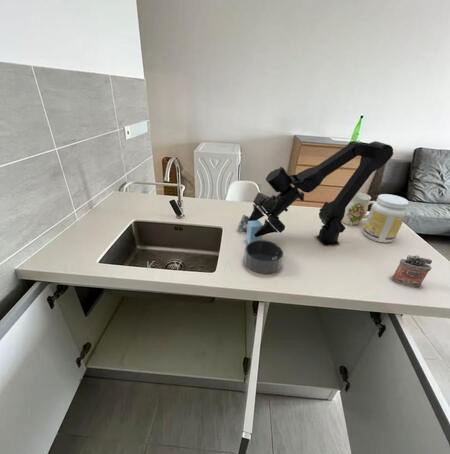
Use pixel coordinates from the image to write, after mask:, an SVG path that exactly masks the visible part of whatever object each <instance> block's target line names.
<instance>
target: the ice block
mask: <svg viewBox="0 0 450 454" xmlns="http://www.w3.org/2000/svg"><path fill="white" fill-rule="evenodd" d="M263 225H264V224H263V223H262V222H261V221H260V219H259V220H257V221H248V225H247V231H246V236H245V241H246V242H247V244H249V243H250V242H253V241H258V240H262V236H263V235H262V236H258V237H255V236H254V235H255V233H256V232H257V231H258V230H259V229H260V228H261V227H262V226H263Z"/></svg>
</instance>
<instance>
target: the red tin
mask: <svg viewBox="0 0 450 454" xmlns="http://www.w3.org/2000/svg"><path fill="white" fill-rule="evenodd" d="M432 263H433V260H432V259H431V258H427V257H420V256H419V255H417V254H415V255H410V254H408V255H407V256H406V259H405V258H401V259H400V260H399V263H398V266H397V267H396V270H395V271H394V273H393V275H392V276H391V278H390V280H391V281H392V282H394V283H397V284H399V285H402V286H406V287H410V288H416V289H417V288H418V289H420V288H421V286H422V283H423V282H424V280H425V278H426V277H427V276H428V274H429V272H430V271H432V266H431V265H432Z"/></svg>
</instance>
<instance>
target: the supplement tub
mask: <svg viewBox="0 0 450 454" xmlns="http://www.w3.org/2000/svg"><path fill="white" fill-rule="evenodd" d="M409 203H410V202H409V200H408V199H406V198H404V197H402V196H399V195H395V194H390V193H389V194H388V193H380V194H379V195H378V196H377V198H376V200H375V202H374V203H373V204H371V207H370V210H369V213H368V214H369V215H368V214H367V215H368V218H366V220H365V223H364V226H363V228H362V233H363V234H364V236H365V237H367V238H368V239H370V240H371V241H375V242H378V243H391V242H393V241H395V239H396V238H397V235H398V233H399V231H400V228H401V227H402V224H403V222H404V221H405V218H406V216H407V214H408V209H407V208H408V206H409Z"/></svg>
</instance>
